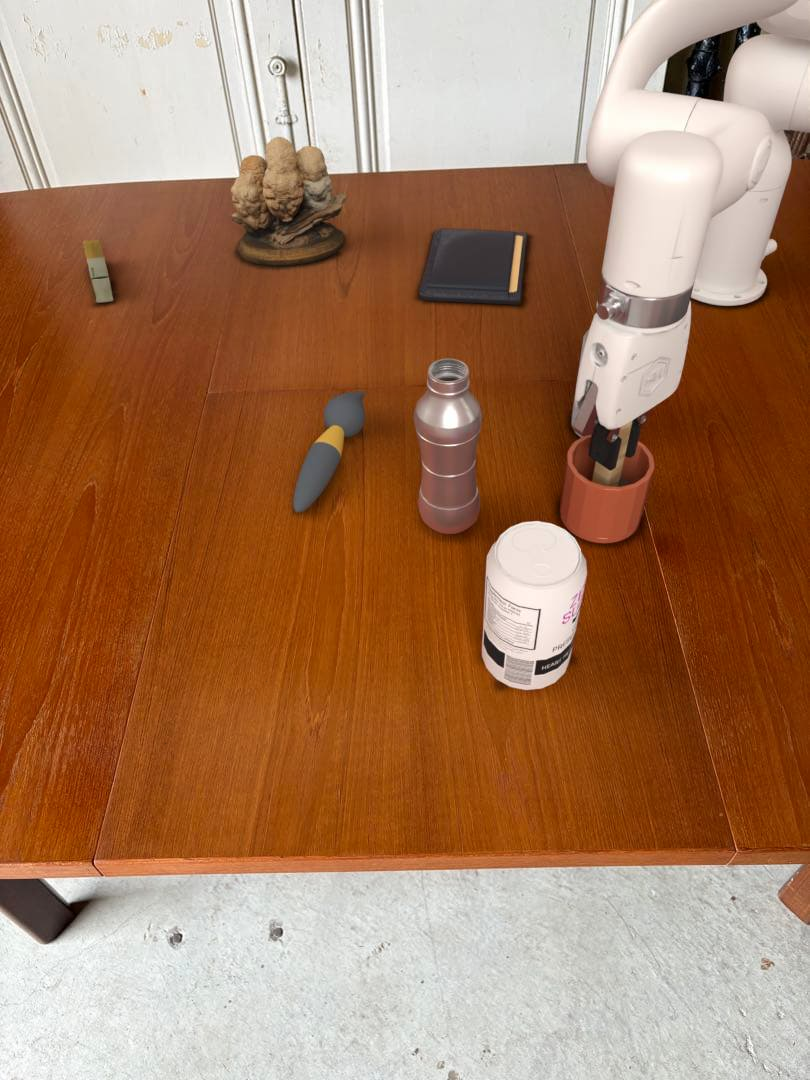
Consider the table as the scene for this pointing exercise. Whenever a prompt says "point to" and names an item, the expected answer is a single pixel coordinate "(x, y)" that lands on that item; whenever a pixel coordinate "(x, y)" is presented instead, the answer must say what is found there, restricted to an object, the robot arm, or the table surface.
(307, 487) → the paintbrush
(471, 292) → the wallet
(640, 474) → the holder
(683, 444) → the table surface
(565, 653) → the supplement can
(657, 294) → the robot arm
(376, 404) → the table surface
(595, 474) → the brush
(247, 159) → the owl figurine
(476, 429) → the silver aluminum bottle
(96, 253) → the medication box
